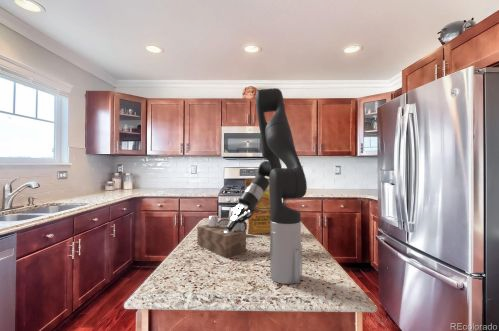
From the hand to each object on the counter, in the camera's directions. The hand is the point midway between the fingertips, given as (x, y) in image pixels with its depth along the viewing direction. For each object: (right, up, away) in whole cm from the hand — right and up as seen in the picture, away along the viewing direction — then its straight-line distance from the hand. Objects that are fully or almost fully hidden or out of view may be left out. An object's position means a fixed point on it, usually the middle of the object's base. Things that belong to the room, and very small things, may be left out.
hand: (228, 229), depth 101 cm
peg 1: (-7, -4, +8) cm, 12 cm away
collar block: (-4, -9, +4) cm, 10 cm away
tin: (0, -9, +25) cm, 27 cm away
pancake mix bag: (+15, -9, +30) cm, 35 cm away
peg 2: (0, -9, 0) cm, 9 cm away
